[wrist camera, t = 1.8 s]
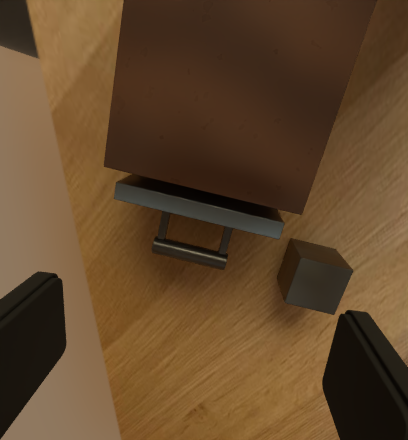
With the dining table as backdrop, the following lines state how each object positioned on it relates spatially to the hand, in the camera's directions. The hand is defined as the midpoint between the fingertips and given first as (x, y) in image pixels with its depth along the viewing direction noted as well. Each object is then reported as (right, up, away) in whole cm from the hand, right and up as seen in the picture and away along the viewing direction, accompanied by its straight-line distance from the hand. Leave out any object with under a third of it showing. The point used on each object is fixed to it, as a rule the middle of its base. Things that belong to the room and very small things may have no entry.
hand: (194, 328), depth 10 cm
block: (+10, -1, +19) cm, 22 cm away
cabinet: (+3, +15, +15) cm, 21 cm away
